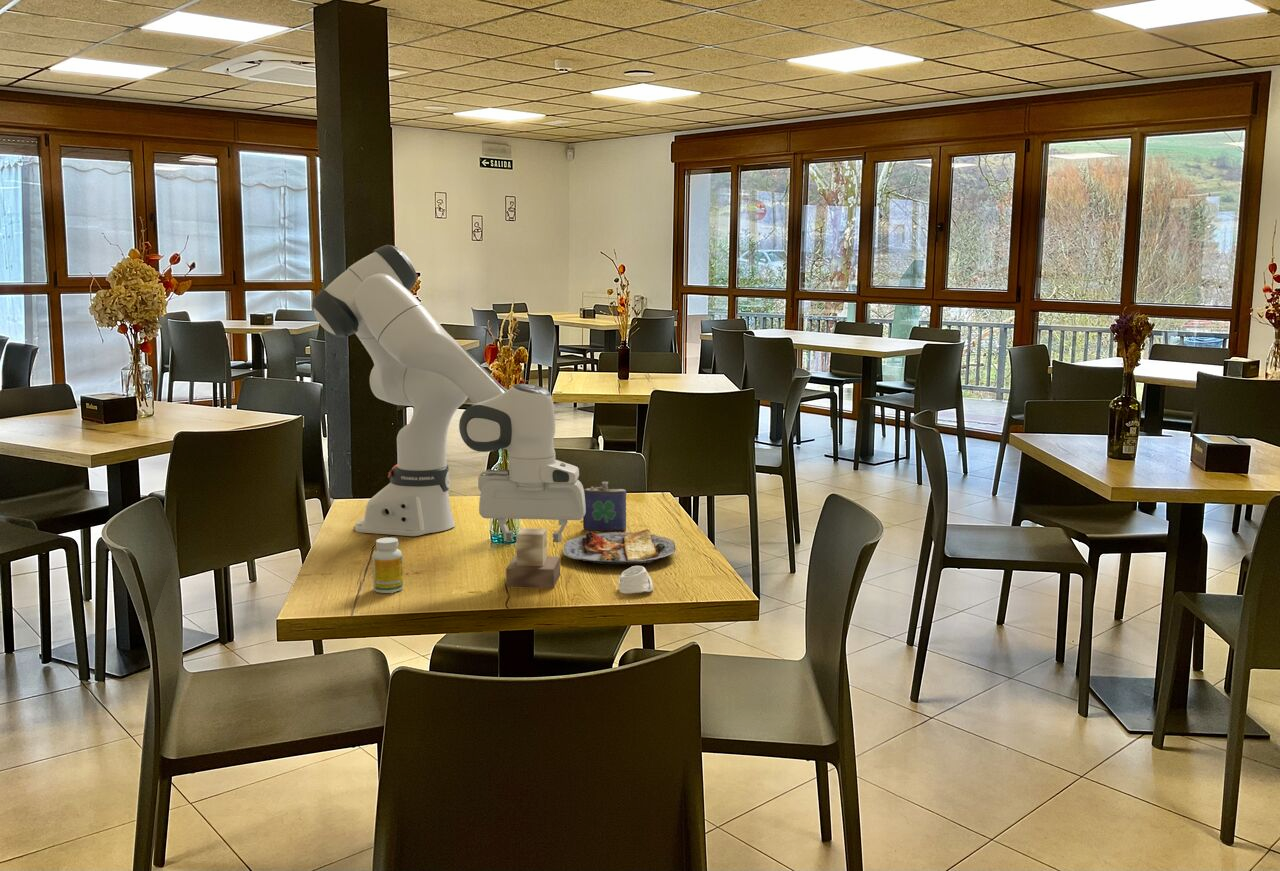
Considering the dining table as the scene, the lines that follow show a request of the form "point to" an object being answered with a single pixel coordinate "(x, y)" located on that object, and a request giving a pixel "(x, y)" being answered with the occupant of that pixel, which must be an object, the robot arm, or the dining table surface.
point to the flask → (605, 509)
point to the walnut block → (533, 574)
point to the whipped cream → (635, 580)
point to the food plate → (619, 547)
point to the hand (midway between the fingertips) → (532, 541)
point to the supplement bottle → (387, 566)
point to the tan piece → (531, 547)
